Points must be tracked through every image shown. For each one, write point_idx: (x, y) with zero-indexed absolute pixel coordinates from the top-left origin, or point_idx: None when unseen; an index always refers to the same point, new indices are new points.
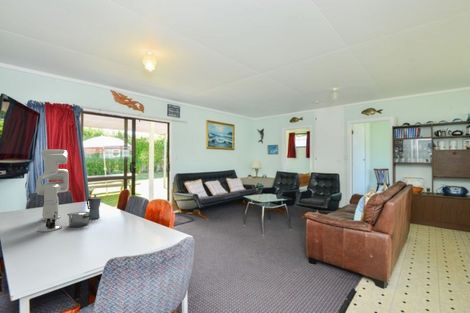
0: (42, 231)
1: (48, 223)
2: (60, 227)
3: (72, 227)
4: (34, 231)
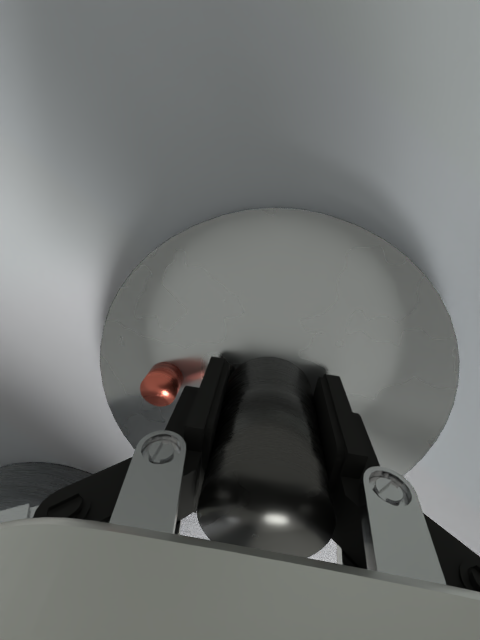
0: (237, 212)
1: (263, 416)
2: (115, 417)
3: (32, 463)
4: (445, 209)
